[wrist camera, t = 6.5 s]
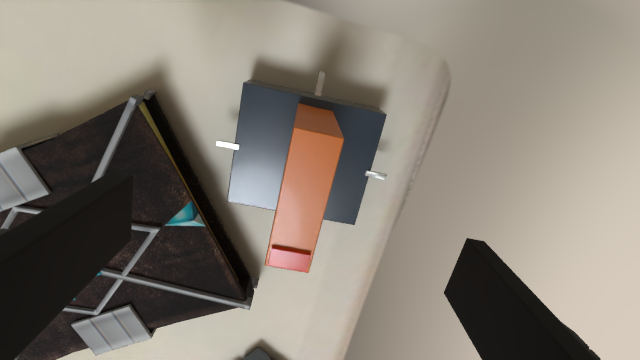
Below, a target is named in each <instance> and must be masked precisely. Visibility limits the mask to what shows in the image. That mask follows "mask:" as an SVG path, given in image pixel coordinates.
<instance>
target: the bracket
mask: <svg viewBox="0 0 640 360" xmlns="http://www.w3.org/2000/svg"><path fill="white" fill-rule="evenodd" d="M243 360H271V359H270V357H269V356H268V354H266V353H265V352H264V351H262V350H261V349H260V348H256V349H255V350H254V351H253V352H251V353H250V354H249V355H247V356H246V357H245V358H243Z"/></svg>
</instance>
